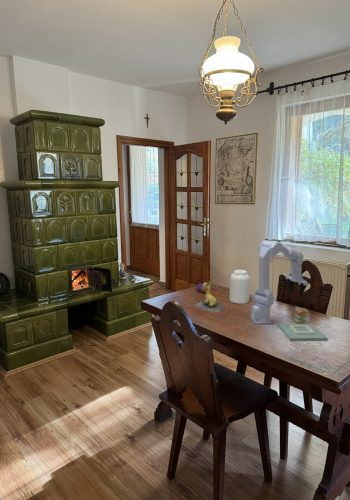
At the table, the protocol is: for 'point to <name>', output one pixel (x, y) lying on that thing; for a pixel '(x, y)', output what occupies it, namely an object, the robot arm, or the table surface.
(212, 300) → the yellow giraffe figurine
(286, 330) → the plate
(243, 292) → the white jar
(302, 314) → the block stack
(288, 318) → the table surface
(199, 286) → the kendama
